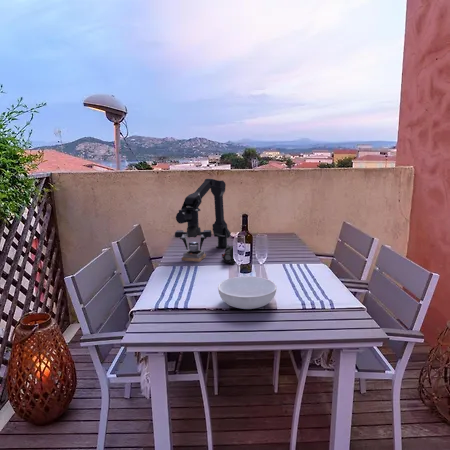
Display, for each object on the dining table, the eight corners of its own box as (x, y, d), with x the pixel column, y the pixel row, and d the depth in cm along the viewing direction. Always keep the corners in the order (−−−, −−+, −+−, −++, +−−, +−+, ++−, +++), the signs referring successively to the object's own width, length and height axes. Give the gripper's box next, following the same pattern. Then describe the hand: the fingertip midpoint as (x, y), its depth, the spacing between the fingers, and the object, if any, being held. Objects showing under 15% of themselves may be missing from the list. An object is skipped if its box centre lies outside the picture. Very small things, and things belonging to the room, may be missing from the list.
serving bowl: (241, 288, 138) (241, 272, 137) (287, 301, 125) (287, 283, 124) (206, 305, 122) (205, 287, 121) (254, 322, 109) (254, 302, 108)
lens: (187, 255, 181) (186, 242, 180) (194, 253, 185) (194, 240, 183) (193, 257, 177) (192, 244, 176) (201, 255, 181) (200, 242, 180)
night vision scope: (232, 260, 185) (246, 249, 183) (226, 271, 168) (241, 259, 166) (222, 249, 185) (236, 238, 182) (215, 259, 168) (231, 247, 165)
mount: (188, 255, 187) (188, 248, 187) (206, 256, 185) (205, 249, 184) (181, 260, 178) (181, 253, 177) (199, 261, 175) (199, 254, 175)
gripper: (172, 223, 170) (173, 254, 173) (210, 223, 169) (210, 253, 172) (175, 219, 181) (177, 248, 184) (211, 219, 180) (211, 248, 183)
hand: (193, 249), depth 180 cm, fingers open, 7 cm apart
